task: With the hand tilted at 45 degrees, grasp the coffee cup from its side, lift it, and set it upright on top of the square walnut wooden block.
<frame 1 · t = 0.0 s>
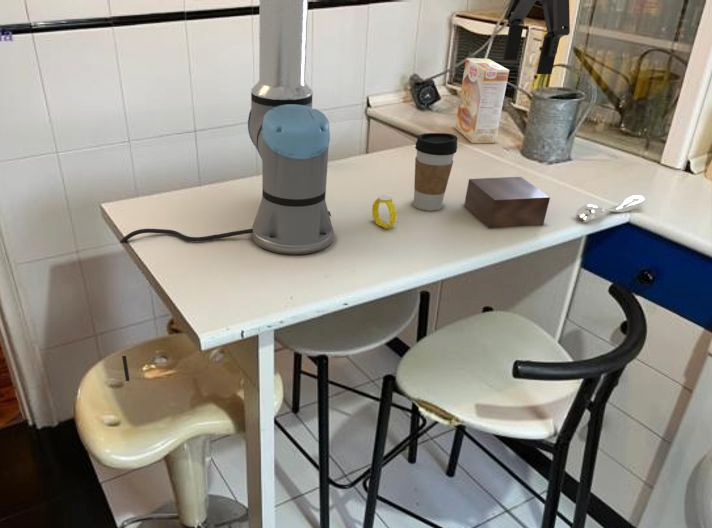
hand: (526, 66, 130), 28 cm above the counter, tool pointing down, fingers open, 13 cm apart
coffeecake box: (474, 136, 186), on the counter
silver scoop: (609, 213, 140), on the counter
watch: (382, 226, 131), on the counter
walnut block: (502, 215, 137), on the counter
coffee cup: (427, 206, 141), on the counter
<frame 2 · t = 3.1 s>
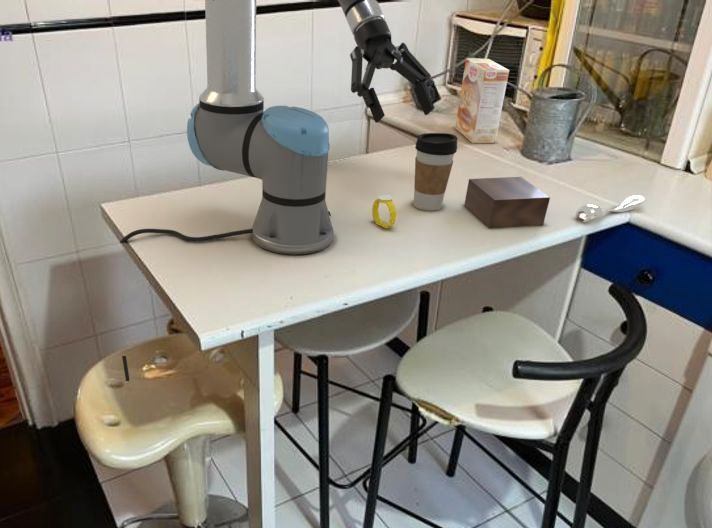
hand: (405, 115, 139), 17 cm above the counter, tool tilted 45°, fingers open, 13 cm apart
nothing on the counter moved.
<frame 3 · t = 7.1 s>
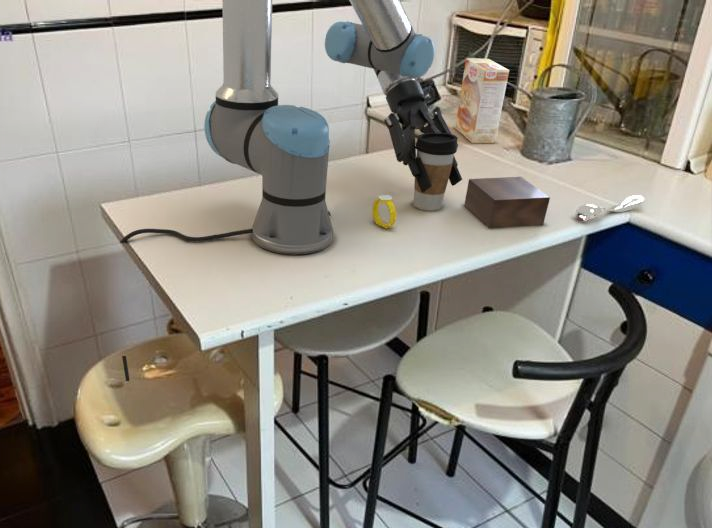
hand: (442, 185, 135), 6 cm above the counter, tool tilted 45°, fingers closed on coffee cup, 8 cm apart
coffee cup: (427, 206, 141), on the counter, touching gripper
everything else where it was.
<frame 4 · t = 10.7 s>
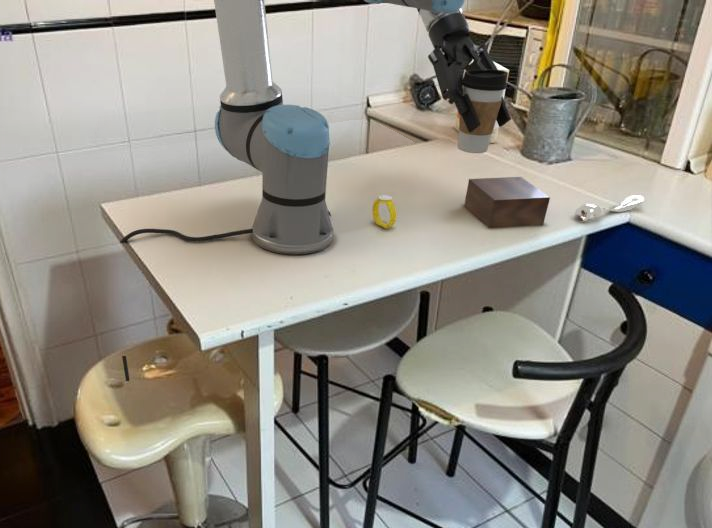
hand: (490, 125, 127), 19 cm above the counter, tool tilted 45°, fingers closed on coffee cup, 8 cm apart
coffee cup: (472, 149, 132), point 13 cm above the counter, touching gripper
everything else where it was.
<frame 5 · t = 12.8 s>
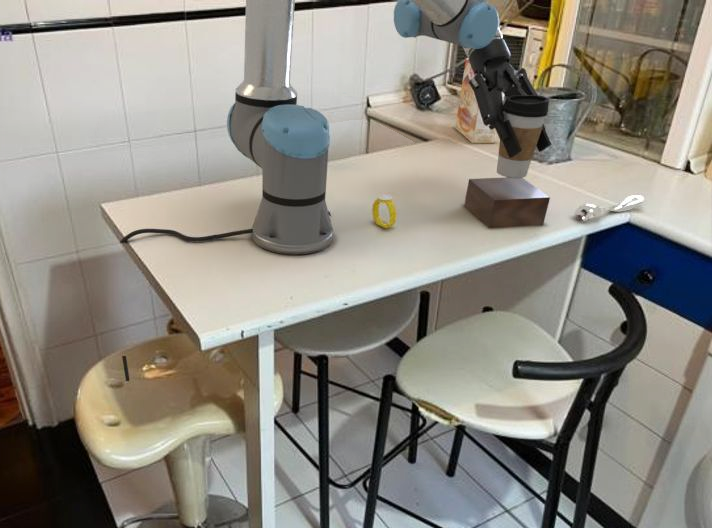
hand: (530, 151, 127), 15 cm above the counter, tool tilted 45°, fingers closed on coffee cup, 8 cm apart
coffee cup: (511, 174, 133), point 9 cm above the counter, touching gripper
everything else where it was.
when the fingers open (12 cm above the counter, at t = 14.2 s): coffee cup stays where it is, resting on walnut block.
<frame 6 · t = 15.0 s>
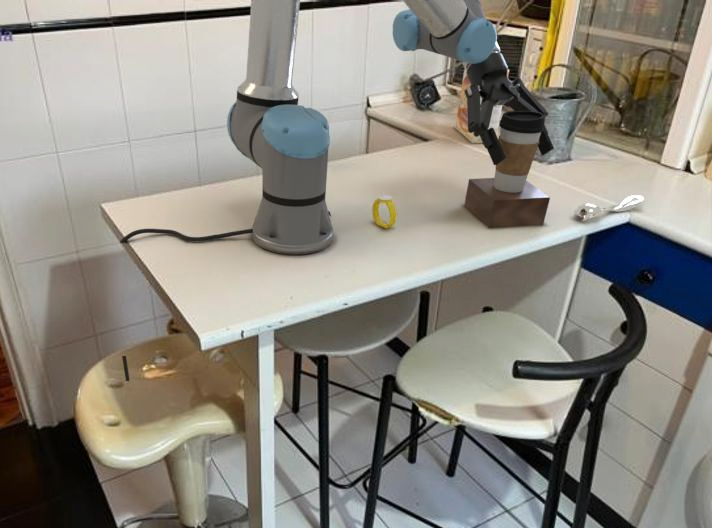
hand: (524, 156, 129), 13 cm above the counter, tool tilted 45°, fingers open, 13 cm apart
coffee cup: (508, 188, 134), point 6 cm above the counter, touching walnut block
everything else where it was.
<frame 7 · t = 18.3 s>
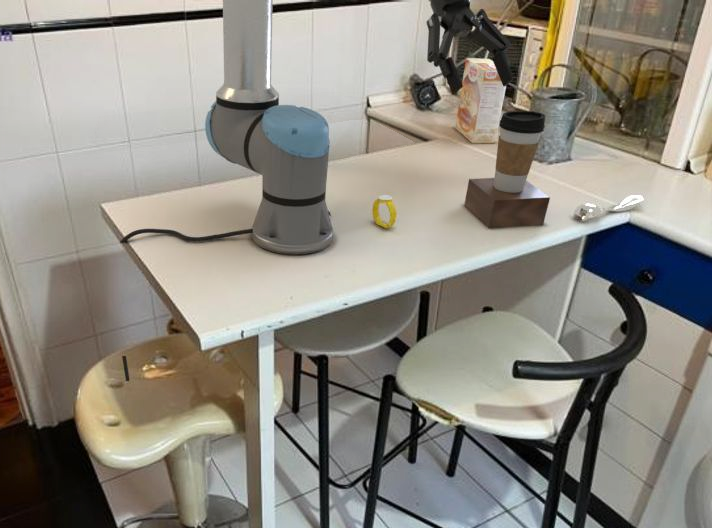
hand: (483, 86, 133), 24 cm above the counter, tool tilted 45°, fingers open, 13 cm apart
nothing on the counter moved.
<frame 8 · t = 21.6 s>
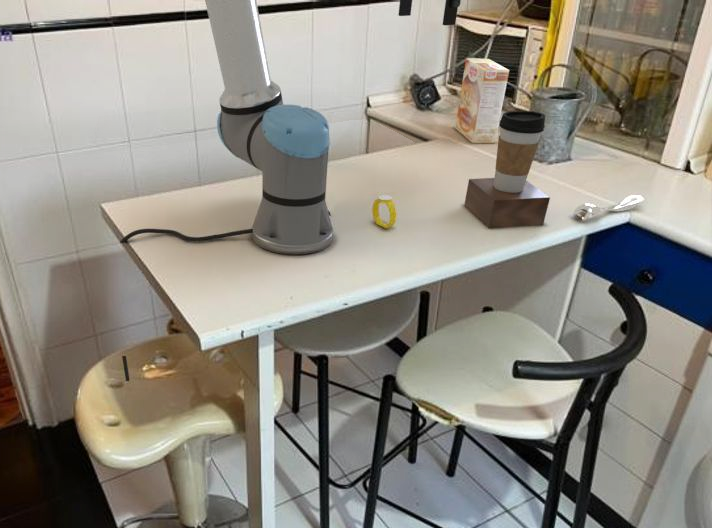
hand: (425, 20, 134), 35 cm above the counter, tool pointing down, fingers open, 13 cm apart
nothing on the counter moved.
at the end: coffee cup 0.1 cm off-centre on the walnut block, point 5.8 cm above the walnut block's base; coffee cup tilted 0°; the gripper is holding nothing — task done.
